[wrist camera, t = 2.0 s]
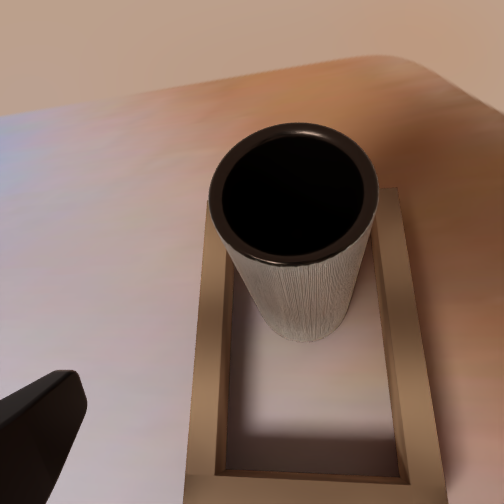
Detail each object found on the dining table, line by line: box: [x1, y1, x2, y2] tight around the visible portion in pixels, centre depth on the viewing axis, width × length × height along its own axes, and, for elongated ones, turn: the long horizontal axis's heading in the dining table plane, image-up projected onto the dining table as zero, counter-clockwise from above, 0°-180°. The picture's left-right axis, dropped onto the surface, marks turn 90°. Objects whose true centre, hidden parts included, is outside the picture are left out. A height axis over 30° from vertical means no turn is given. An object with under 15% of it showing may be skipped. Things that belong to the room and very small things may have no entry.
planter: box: [208, 123, 379, 342], centre depth 14 cm, size 4×4×10 cm
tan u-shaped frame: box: [183, 188, 448, 504], centre depth 17 cm, size 14×10×2 cm
